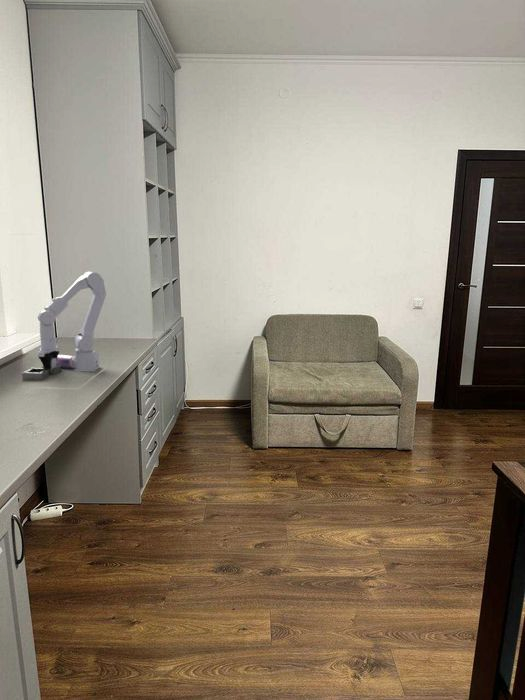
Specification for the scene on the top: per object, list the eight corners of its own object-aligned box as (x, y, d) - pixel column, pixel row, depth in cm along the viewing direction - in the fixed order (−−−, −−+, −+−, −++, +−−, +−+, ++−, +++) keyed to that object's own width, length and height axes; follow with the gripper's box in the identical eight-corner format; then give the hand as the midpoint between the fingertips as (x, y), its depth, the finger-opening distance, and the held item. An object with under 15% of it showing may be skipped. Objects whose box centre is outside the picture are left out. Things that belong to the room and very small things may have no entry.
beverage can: (41, 367, 217) (71, 370, 214) (41, 354, 217) (71, 357, 213) (50, 365, 223) (79, 368, 220) (50, 352, 222) (79, 355, 219)
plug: (56, 371, 211) (55, 356, 209) (52, 373, 207) (51, 358, 205) (47, 371, 211) (46, 356, 209) (43, 373, 207) (42, 358, 206)
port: (50, 376, 205) (50, 367, 204) (41, 381, 197) (41, 372, 196) (32, 375, 205) (31, 367, 204) (22, 381, 197) (21, 372, 197)
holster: (61, 371, 212) (60, 365, 212) (54, 376, 206) (53, 369, 205) (46, 371, 213) (46, 364, 212) (39, 375, 206) (38, 368, 205)
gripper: (46, 335, 213) (48, 364, 216) (30, 341, 199) (32, 373, 202) (62, 335, 213) (64, 365, 216) (47, 342, 198) (49, 373, 201)
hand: (50, 369), depth 209 cm, fingers closed on plug, 4 cm apart
